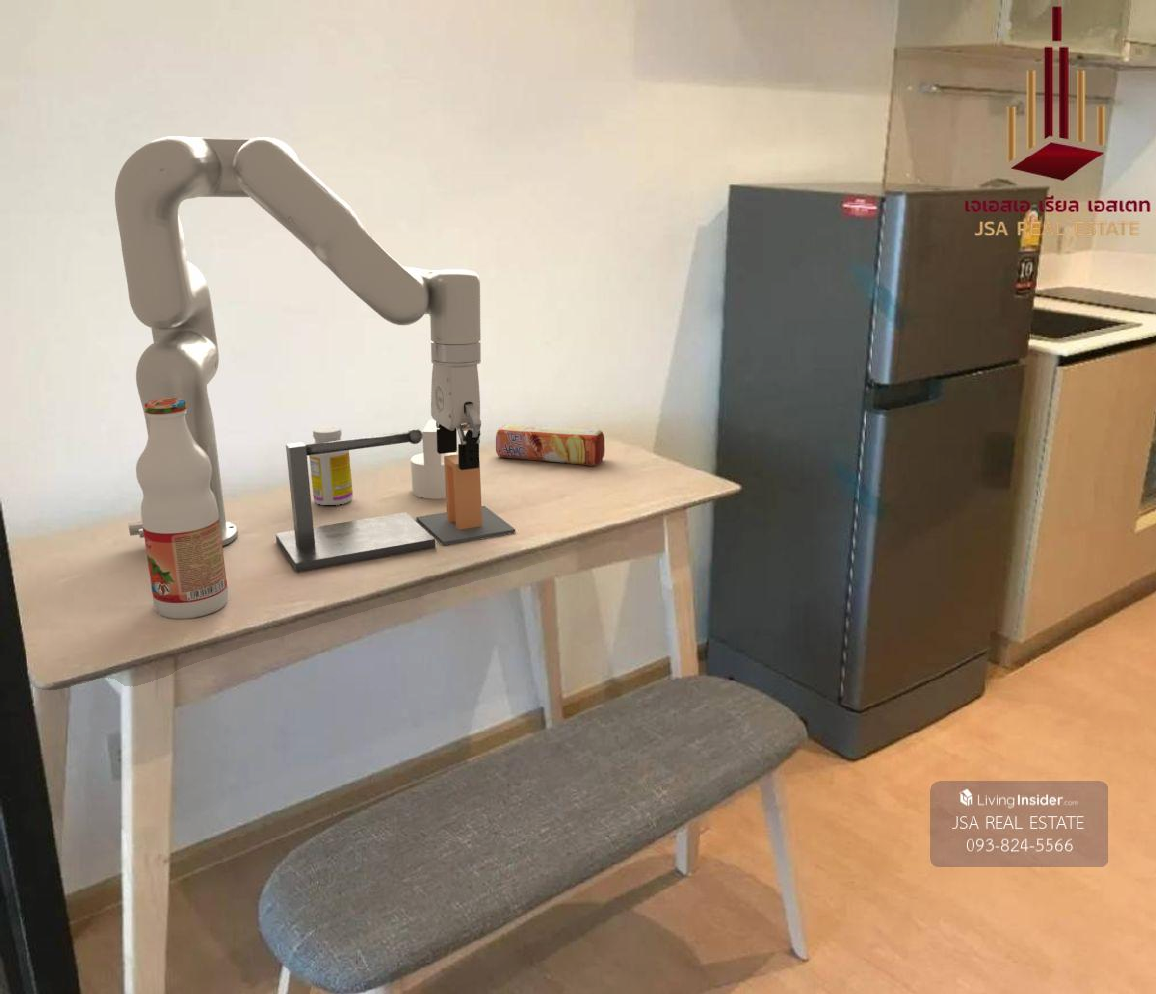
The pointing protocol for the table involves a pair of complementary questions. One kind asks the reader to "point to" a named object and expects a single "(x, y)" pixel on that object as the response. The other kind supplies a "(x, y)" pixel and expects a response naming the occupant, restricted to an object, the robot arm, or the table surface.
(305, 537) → the hanger stand
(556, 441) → the snack package
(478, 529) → the rubber mat
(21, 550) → the table surface
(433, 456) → the base with upright slab
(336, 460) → the supplement bottle
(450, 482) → the hook link
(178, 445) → the fruit juice
